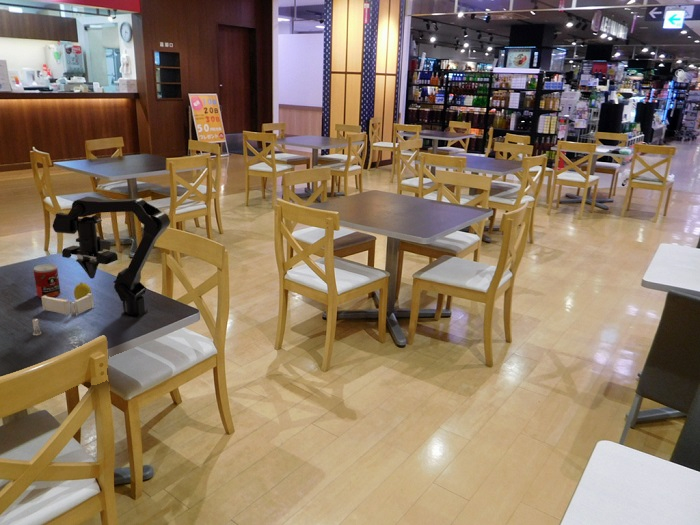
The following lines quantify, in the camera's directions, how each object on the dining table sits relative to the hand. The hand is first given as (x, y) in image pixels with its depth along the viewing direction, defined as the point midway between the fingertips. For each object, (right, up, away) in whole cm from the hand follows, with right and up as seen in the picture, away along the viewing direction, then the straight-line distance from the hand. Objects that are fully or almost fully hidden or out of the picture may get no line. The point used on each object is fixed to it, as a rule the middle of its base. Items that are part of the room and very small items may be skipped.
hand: (92, 278), depth 188 cm
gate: (-12, -12, 0) cm, 17 cm away
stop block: (-13, -11, +4) cm, 17 cm away
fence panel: (-4, -12, +3) cm, 13 cm away
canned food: (-23, -7, +15) cm, 28 cm away
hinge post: (-6, -13, -2) cm, 14 cm away
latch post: (-10, -17, -15) cm, 25 cm away
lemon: (-7, -10, +9) cm, 15 cm away
